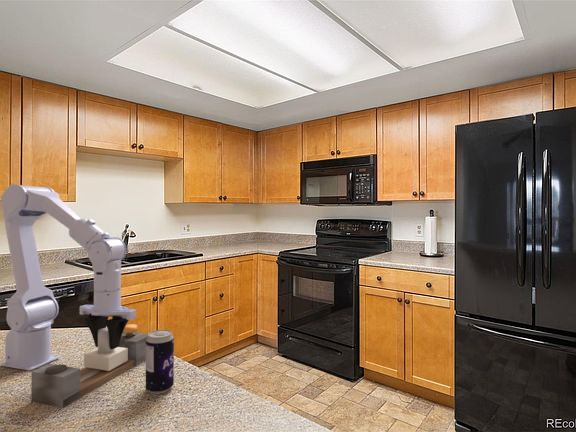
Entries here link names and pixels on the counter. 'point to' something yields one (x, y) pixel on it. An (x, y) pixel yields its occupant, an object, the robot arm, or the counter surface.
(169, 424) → the counter surface
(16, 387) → the counter surface
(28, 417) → the counter surface
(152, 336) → the beverage can
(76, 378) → the rail
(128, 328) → the button
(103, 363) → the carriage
